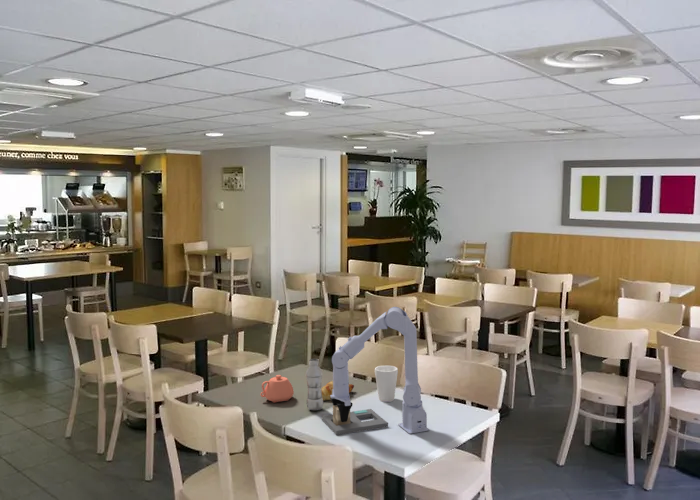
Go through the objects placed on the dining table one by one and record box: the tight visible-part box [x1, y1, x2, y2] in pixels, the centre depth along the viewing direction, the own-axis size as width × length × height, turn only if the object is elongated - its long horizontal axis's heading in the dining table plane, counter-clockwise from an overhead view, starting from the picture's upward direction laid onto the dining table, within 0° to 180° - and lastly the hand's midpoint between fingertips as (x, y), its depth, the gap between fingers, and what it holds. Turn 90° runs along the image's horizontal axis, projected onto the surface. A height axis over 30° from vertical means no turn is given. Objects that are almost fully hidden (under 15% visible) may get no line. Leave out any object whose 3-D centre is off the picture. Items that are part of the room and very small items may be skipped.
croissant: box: [321, 380, 355, 401], centre depth 256 cm, size 21×10×8 cm, turn 129°
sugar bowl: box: [260, 374, 295, 404], centre depth 253 cm, size 12×14×10 cm
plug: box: [332, 405, 351, 426], centre depth 223 cm, size 5×5×7 cm
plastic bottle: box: [305, 358, 324, 411], centre depth 240 cm, size 6×7×20 cm
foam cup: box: [374, 365, 399, 403], centre depth 251 cm, size 10×9×13 cm
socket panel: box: [321, 408, 389, 436], centre depth 225 cm, size 16×20×2 cm
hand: (341, 418), depth 223 cm, fingers closed on plug, 5 cm apart
